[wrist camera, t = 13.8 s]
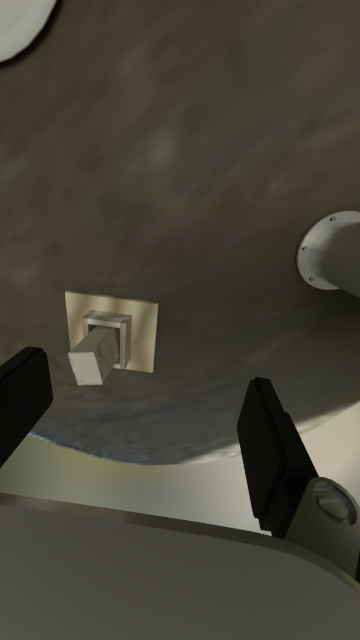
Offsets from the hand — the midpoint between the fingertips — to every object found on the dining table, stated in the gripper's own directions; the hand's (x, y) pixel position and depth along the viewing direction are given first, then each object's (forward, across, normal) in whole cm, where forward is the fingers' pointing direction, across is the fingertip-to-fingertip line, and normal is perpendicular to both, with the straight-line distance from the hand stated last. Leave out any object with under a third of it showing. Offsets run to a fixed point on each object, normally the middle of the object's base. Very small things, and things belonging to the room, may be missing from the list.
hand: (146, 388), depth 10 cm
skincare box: (+32, +13, +16) cm, 38 cm away
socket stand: (+33, +13, +16) cm, 39 cm away
